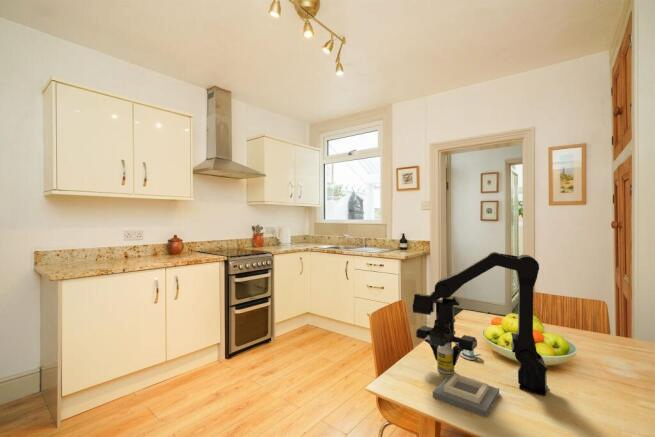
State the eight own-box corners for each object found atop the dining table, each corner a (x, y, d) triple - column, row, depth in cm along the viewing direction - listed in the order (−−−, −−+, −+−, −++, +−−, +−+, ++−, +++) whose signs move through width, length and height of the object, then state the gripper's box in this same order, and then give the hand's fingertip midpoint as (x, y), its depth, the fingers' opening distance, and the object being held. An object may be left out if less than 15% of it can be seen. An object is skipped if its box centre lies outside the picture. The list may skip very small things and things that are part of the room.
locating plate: (499, 393, 89) (499, 383, 89) (486, 417, 79) (485, 405, 79) (450, 378, 98) (450, 368, 98) (432, 397, 88) (432, 386, 88)
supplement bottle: (436, 372, 102) (435, 342, 102) (438, 365, 107) (438, 337, 107) (453, 375, 100) (453, 345, 100) (455, 368, 104) (454, 339, 105)
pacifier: (470, 363, 109) (483, 359, 111) (470, 345, 109) (482, 342, 111) (455, 354, 116) (467, 351, 118) (454, 338, 116) (466, 335, 118)
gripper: (408, 316, 104) (409, 363, 104) (466, 329, 91) (467, 381, 91) (422, 309, 112) (423, 352, 112) (477, 319, 100) (478, 368, 99)
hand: (445, 362), depth 103 cm, fingers closed on supplement bottle, 5 cm apart
